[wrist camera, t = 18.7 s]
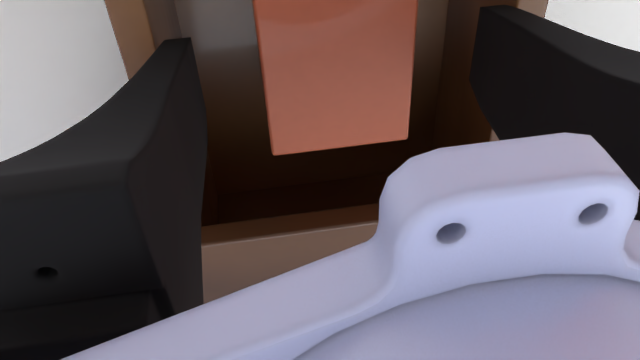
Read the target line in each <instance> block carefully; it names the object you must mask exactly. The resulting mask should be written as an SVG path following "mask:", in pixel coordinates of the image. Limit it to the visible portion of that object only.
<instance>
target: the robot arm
mask: <svg viewBox="0 0 640 360" xmlns="http://www.w3.org/2000/svg"><path fill="white" fill-rule="evenodd" d="M469 82H470V84H471V87H472V90H473V92H474V95H475V97H476V100H477V102H478V104H479V107H480V109H481V111H482V113H483V114H484V116H485V118H486V119H487V121H488V123H489V124H490V126H491V127H492V129H493V131H494V132H495V134H496V135H497V137H498V139H499V140H500V141H492V142H484V143H476V144H468V145H460V146H452V147H444V148H438V149H435V150H432V151H429V152H426V153H423V154H420V155H417V156H414V157H411V158H409V159H408V160H407V161H406V162H405V163H404V164H402V165H401V166H400V167H399V168H398V169H397V170H395V171H394V172H393V173H392V174H391V175H390V176H388V178H387V181H386V183H385V186H384V188H383V191H382V194H381V196H380V199H379V221H378V226H377V231H376V233H375V234H374V236H373V237H372V238H370V239H369V240H368V241H366V242H364V243H361V244H358V245H356V246H353V247H351V248H348V249H345V250H343V251H340V252H338V253H335V254H332V255H330V256H327V257H325V258H322V259H320V260H317V261H314V262H312V263H309V264H307V265H304V266H301V267H299V268H296V269H294V270H291V271H288V272H286V273H283V274H281V275H278V276H275V277H273V278H270V279H268V280H265V281H262V282H260V283H257V284H255V285H252V286H249V287H247V288H244V289H242V290H239V291H236V292H234V293H231V294H229V295H226V296H224V297H221V298H218V299H216V300H213V301H211V302H208V303H205V304H204V299H203V277H202V249H201V210H202V200H203V189H204V179H205V168H206V157H207V146H208V136H207V117H206V107H205V102H204V98H203V93H202V88H201V83H200V79H199V74H198V69H197V64H196V60H195V55H194V50H193V45H192V41H191V37H187V38H178V39H168V40H164V41H163V42H162V43H161V44H160V46H159V47H158V48H157V49H156V50H155V52H154V53H153V54H152V55H151V56H150V58H149V59H148V60H147V61H146V62H145V63H144V65H143V66H142V67H141V68H140V69H139V70H138V71H137V73H136V74H135V75H134V76H133V77H132V78H131V79H130V80H129V81H128V82H127V83H126V84H125V85H124V86H123V87H122V88H121V89H120V90H119V91H118V92H117V93H116V94H115V95H114V96H113V97H112V98H110V99H109V100H108V101H107V102H106V103H105V104H103V105H102V106H101V107H100V108H98V109H97V110H96V111H94V112H93V113H92V114H90V115H89V116H88V117H86V118H85V119H83V120H82V121H80V122H79V123H77V124H75V125H74V126H72V127H71V128H69V129H67V130H66V131H64V132H62V133H61V134H59V135H58V136H56V137H54V138H52V139H50V140H49V141H47V142H45V143H43V144H41V145H39V146H37V147H35V148H33V149H30V150H28V151H26V152H24V153H22V154H19V155H17V156H15V157H12V158H10V159H8V160H5V161H2V162H0V360H640V52H638V51H634V50H630V49H626V48H623V47H619V46H616V45H613V44H610V43H607V42H604V41H601V40H598V39H595V38H593V37H590V36H587V35H584V34H582V33H579V32H576V31H574V30H571V29H569V28H566V27H564V26H561V25H559V24H556V23H554V22H552V21H549V20H547V19H544V18H542V17H539V16H537V15H535V14H532V13H530V12H527V11H524V10H522V9H519V8H516V7H512V6H508V5H495V6H486V7H480V11H479V18H478V24H477V30H476V37H475V43H474V50H473V56H472V62H471V69H470V75H469Z"/></svg>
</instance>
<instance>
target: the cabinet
mask: <svg viewBox="0 0 640 360" xmlns="http://www.w3.org/2000/svg"><path fill="white" fill-rule="evenodd" d="M378 221H379V203H373V204H365V205H358V206H350V207H343V208H335V209H328V210H320V211H313V212H305V213H297V214H290V215H282V216H275V217H267V218H260V219H252V220H245V221H237V222H229V223H222V224H214V225H207V226H201V249H202V277H203V299H204V304H205V303H208V302H211V301H213V300H216V299H218V298H221V297H224V296H226V295H229V294H231V293H234V292H236V291H239V290H242V289H244V288H247V287H249V286H252V285H255V284H257V283H260V282H262V281H265V280H268V279H270V278H273V277H275V276H278V275H281V274H283V273H286V272H288V271H291V270H294V269H296V268H299V267H301V266H304V265H307V264H309V263H312V262H314V261H317V260H320V259H322V258H325V257H327V256H330V255H332V254H335V253H338V252H340V251H343V250H345V249H348V248H351V247H353V246H356V245H358V244H361V243H364V242H366V241H368V240H369V239H370V238H372V237H373V236H374V234H375V233H376V231H377V226H378Z"/></svg>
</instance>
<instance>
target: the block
mask: <svg viewBox="0 0 640 360" xmlns="http://www.w3.org/2000/svg"><path fill="white" fill-rule="evenodd" d="M252 4H253V12H254V19H255V27H256V35H257V43H258V50H259V58H260V66H261V74H262V82H263V89H264V97H265V105H266V113H267V121H268V128H269V136H270V144H271V152H272V154H273V155H275V156H277V155H285V154H293V153H302V152H310V151H318V150H326V149H334V148H342V147H350V146H358V145H366V144H374V143H382V142H390V141H398V140H406V139H407V138H408V131H409V118H410V105H411V91H412V78H413V65H414V52H415V39H416V26H417V13H418V0H252Z"/></svg>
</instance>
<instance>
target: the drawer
mask: <svg viewBox="0 0 640 360" xmlns="http://www.w3.org/2000/svg"><path fill="white" fill-rule="evenodd" d="M104 1H105V5H106V8H107V11H108V14H109V18H110V21H111V24H112V27H113V30H114V34H115V37H116V40H117V43H118V47H119V50H120V53H121V56H122V59H123V63H124V66H125V69H126V72H127V75H128V79H129V80H130V79H131V78H132V77H133V76H134V75H135V74H136V73H137V71H138V70H139V69H140V68H141V67H142V66H143V65H144V63H145V62H146V61H147V60H148V59H149V58H150V56H151V55H152V54H153V53H154V52H155V50H156V49H157V48H158V47H159V46H160V44H161V43H162V42H163V41H164V40H168V39H178V38H187V37H191V41H192V45H193V50H194V55H195V60H196V64H197V69H198V74H199V79H200V83H201V88H202V93H203V98H204V102H205V107H206V117H207V136H208V146H207V157H206V168H205V179H204V189H203V200H202V210H201V226H207V225H214V224H222V223H229V222H237V221H245V220H252V219H260V218H267V217H275V216H282V215H290V214H297V213H305V212H313V211H320V210H328V209H335V208H343V207H350V206H358V205H365V204H373V203H379V199H380V196H381V194H382V191H383V188H384V186H385V183H386V181H387V178H388V176H390V175H391V174H392V173H393V172H394V171H395V170H397V169H398V168H399V167H400V166H401V165H402V164H404V163H405V162H406V161H407V160H408V159H409V158H411V157H414V156H417V155H420V154H423V153H426V152H429V151H432V150H435V149H438V148H444V147H452V146H460V145H468V144H476V143H484V142H492V141H500V140H499V139H498V137H497V135H496V134H495V132H494V131H493V129H492V127H491V126H490V124H489V123H488V121H487V119H486V118H485V116H484V114H483V113H482V111H481V109H480V107H479V104H478V102H477V100H476V97H475V95H474V92H473V90H472V87H471V84H470V82H469V75H470V69H471V62H472V56H473V50H474V43H475V37H476V30H477V24H478V18H479V11H480V7H486V6H495V5H508V6H512V7H516V8H519V9H522V10H524V11H527V12H530V13H532V14H535V15H537V16H539V17H542V18H544V17H545V12H546V8H547V4H548V0H418V13H417V26H416V39H415V52H414V65H413V78H412V91H411V105H410V118H409V131H408V138H407V139H406V140H398V141H390V142H382V143H374V144H366V145H358V146H350V147H342V148H334V149H326V150H318V151H310V152H302V153H293V154H285V155H277V156H275V155H273V154H272V152H271V144H270V136H269V128H268V121H267V113H266V105H265V97H264V89H263V82H262V74H261V66H260V58H259V50H258V43H257V35H256V27H255V19H254V12H253V4H252V0H104Z"/></svg>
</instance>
